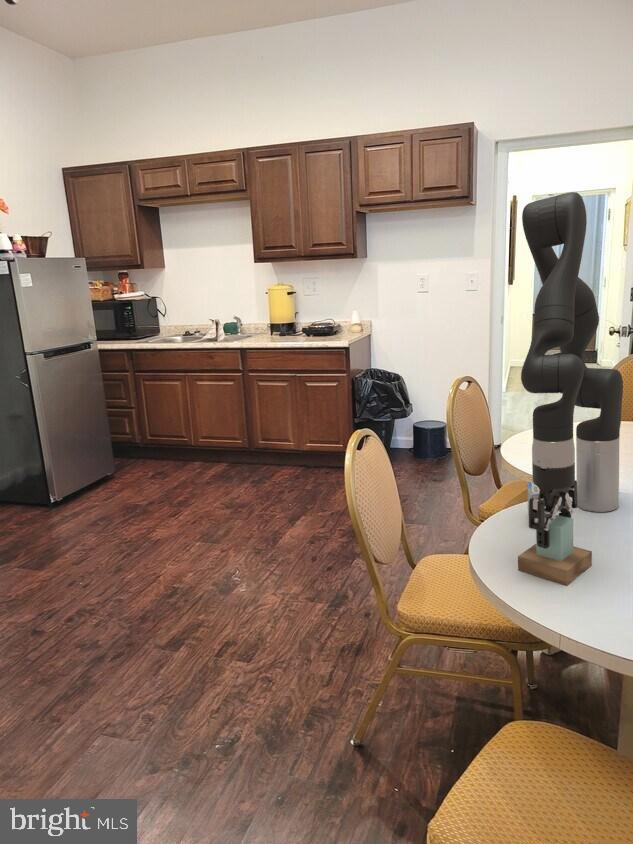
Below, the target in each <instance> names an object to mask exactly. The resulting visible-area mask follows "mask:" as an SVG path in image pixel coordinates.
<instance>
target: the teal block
mask: <svg viewBox="0 0 633 844" xmlns="http://www.w3.org/2000/svg"><path fill="white" fill-rule="evenodd" d="M548 514H550V513H548ZM545 522H546V518H544V524H545ZM549 536H550V546H549V547H548V548H547V549H545V548H541V547H539V546H538V545H537V530H535V541H536V542H535V544H536V553H537V555H540V556H543V557H547V558H550V559H554V560H557V561H562V560H564V559H565V558H566V557H568V556H569V555H570V554H571V553H573V546H574V518H572V517H571V518H568V517H564V516H559V514H556V516H555V519H554V520H552V521H551V524H550V527H549Z"/></svg>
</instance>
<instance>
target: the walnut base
mask: <svg viewBox="0 0 633 844" xmlns="http://www.w3.org/2000/svg"><path fill="white" fill-rule="evenodd" d="M592 558H593V552H592V550H589V549H584V548H582V547H578V546H574V545H573V553H571V554H570V555H569V556H568V557H566V558H565V559H564V560H562V561H557V560H554V559H550V558H547V557H543V556H540V555H537V553H536V543H535V544H534V545H532V546H530V547H528V548H527V549H526V550H525V551H523V552H522V553H520V554H518V556H517V571H520V572H523V573H527V574H529V575H533V576H535V577H539V578H541V577H542V579H544V578H545V580H548V581H551V580H552V581H551V582H554V581H555V582H554V583H557V582H558V584H560V583H561V584H560V585H563V584H564V586H566V587H567V586H568V585H570V584H571V583H573V582H574V581H575V580H576V579H577V578H578V577H579V576H581V575H582V574H583V573H584V572H585V571H587V570H588V569H589V568H590V567H591V566H593V565H592V564H593V559H592ZM581 573H582V574H581ZM580 574H581V575H580ZM576 577H577V578H576ZM575 578H576V579H575ZM574 579H575V580H574Z"/></svg>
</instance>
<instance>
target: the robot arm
mask: <svg viewBox="0 0 633 844" xmlns="http://www.w3.org/2000/svg"><path fill="white" fill-rule="evenodd" d="M521 216H522V217H521V221H522V229H523V233H524V235H525V236H524V237H525V239H526V242H527V246H528V247H529V248H528V249H529V252H530V253H531V256H532V259H533V262H534V264H535V267H536V270H537V273H538V275H539V277H540V282H541V285H542V286H541V287H540V289H539V291H538V293H537V296H536V298H535V303H534V311H533V328H532V331H533V332H532V338H531V342H530V346H529V349H528V352H527V355H526V356H525V360H524V362H523V366H522V368H521V372H520V380H521V384H522V386H523V388H524V389H525V390H526V392H528V393H530V394H559V393H560V394H562V396H561V398H559V399H558V400H557V401H553V402H550V403H545V404H541V405H539V406H536V407H534V409H533V411H532V445H531V460H532V461H531V466H532V467H531V469H532V482H533V483H534V484H535V485H536V486H537V487H538V488H539V489H540V491H539V496H538V498H530V500H529V515H528V528H529V529H531V530H535V531H536V530H537V545H538V546H539V547H541V548H545V549H547V548H548V547H549V546H550V536H549V527H550V524H551V521H552V520H554V519H555V516H556V515H557V513H558V512H559V513H558V515H559V516H564V517H568V518H572V515H573V514H574V509H577V508H578V507H579V508H580V509H582V510H584V511H589V512H597V513H600V512H601V513H603V512H604V513H605V512H611V511H614V510H617V509H618V508H619V503H620V436H621V435H620V431H621V429H620V428H621V423H622V407H623V406H622V405H623V394H624V393H623V392H624V383H623V382H624V380H623V376H622V374H621V372H620V371H619V370H618V369H615V368H603V367H601V368H598V367H595V368H594V367H587V365H586V363H585V352H586V350H587V348H588V346H589V345H590V343H591V341H592V339H593V338H594V336H595V334H596V331H597V330H598V328H599V322H600V316H599V315H600V314H599V310H598V305H597V301H596V298H595V294H594V291H593V289H591V288H590V286H589V285H588V284H587V283H586V282H585V281H584V280H582V279H581V278H580V277H579V274H580V268H581V264H582V258H583V253H584V252H583V251H584V247H585V246H584V245H585V239H586V233H587V223H588V222H587V210H586V204H585V202H584V200H583V197H582V196H581V194H580V193H579V192H575V191H572V192H571V191H570V192H565V193H560V194H558V195H554V196H550V197H549V196H548V197H545V198H541V199H537V200H534V201H531V202H528V203H527V204H526V205H525V206H524V207H523V210H522V215H521ZM560 245H563V246H562V250H561V253H560V256H559V257H558V256H557V254H556V252H555V251H554V249H553V247H557V246H560ZM555 348H559V350H560V351H559V352H560V354H557V353H556V354H547V352H549V351H550V350H552V349H555ZM575 407H579V408H585V409H586V408H587V409H599V410H600V414H599V416H598V417H595V418H591V419H587V420H583V421H581V422H579V423H578V424H577V425H576V426H575V427H576V429H575V434H576V435H575V442H574V415H575ZM575 445H576V446H575ZM571 499H572V500H571ZM545 511H546V512H550V514H547V513H545ZM535 518H536V520H535ZM544 518H546V522H545V524H544Z"/></svg>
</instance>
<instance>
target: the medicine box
mask: <svg viewBox="0 0 633 844" xmlns="http://www.w3.org/2000/svg"><path fill="white" fill-rule="evenodd" d="M526 486H527V487H526V489H527V490H526V491H527V493H526V494H527V515H528V516H529V500H530V498H538V496H539V491H540V489H539V488H538V487H537V486H536V485H535V484H534V483H533V481H527V482H526ZM545 513H547V514H548V513H550V512H546V511H545ZM535 520H536V518H535Z"/></svg>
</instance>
